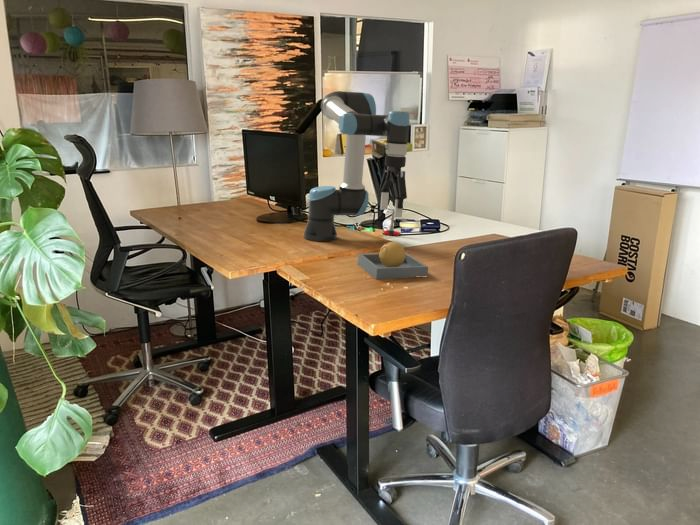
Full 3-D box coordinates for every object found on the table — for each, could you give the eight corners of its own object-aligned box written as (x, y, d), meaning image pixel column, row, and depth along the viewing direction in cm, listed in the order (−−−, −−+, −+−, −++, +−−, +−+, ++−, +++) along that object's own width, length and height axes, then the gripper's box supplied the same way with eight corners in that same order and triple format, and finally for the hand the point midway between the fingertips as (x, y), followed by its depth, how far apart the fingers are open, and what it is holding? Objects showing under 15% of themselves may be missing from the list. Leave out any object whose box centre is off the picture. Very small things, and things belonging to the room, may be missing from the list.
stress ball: (406, 270, 208) (399, 249, 213) (410, 256, 200) (402, 234, 205) (381, 275, 206) (374, 253, 212) (384, 260, 198) (377, 238, 203)
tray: (357, 263, 213) (358, 254, 212) (405, 262, 219) (405, 252, 218) (376, 279, 195) (376, 268, 194) (427, 277, 201) (428, 266, 200)
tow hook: (384, 232, 275) (382, 235, 266) (386, 206, 272) (384, 208, 263) (400, 233, 273) (399, 236, 264) (403, 207, 271) (402, 210, 262)
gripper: (373, 151, 208) (369, 206, 214) (400, 159, 186) (394, 220, 192) (391, 151, 211) (387, 206, 217) (420, 159, 188) (414, 220, 194)
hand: (390, 213), depth 204 cm, fingers open, 13 cm apart
